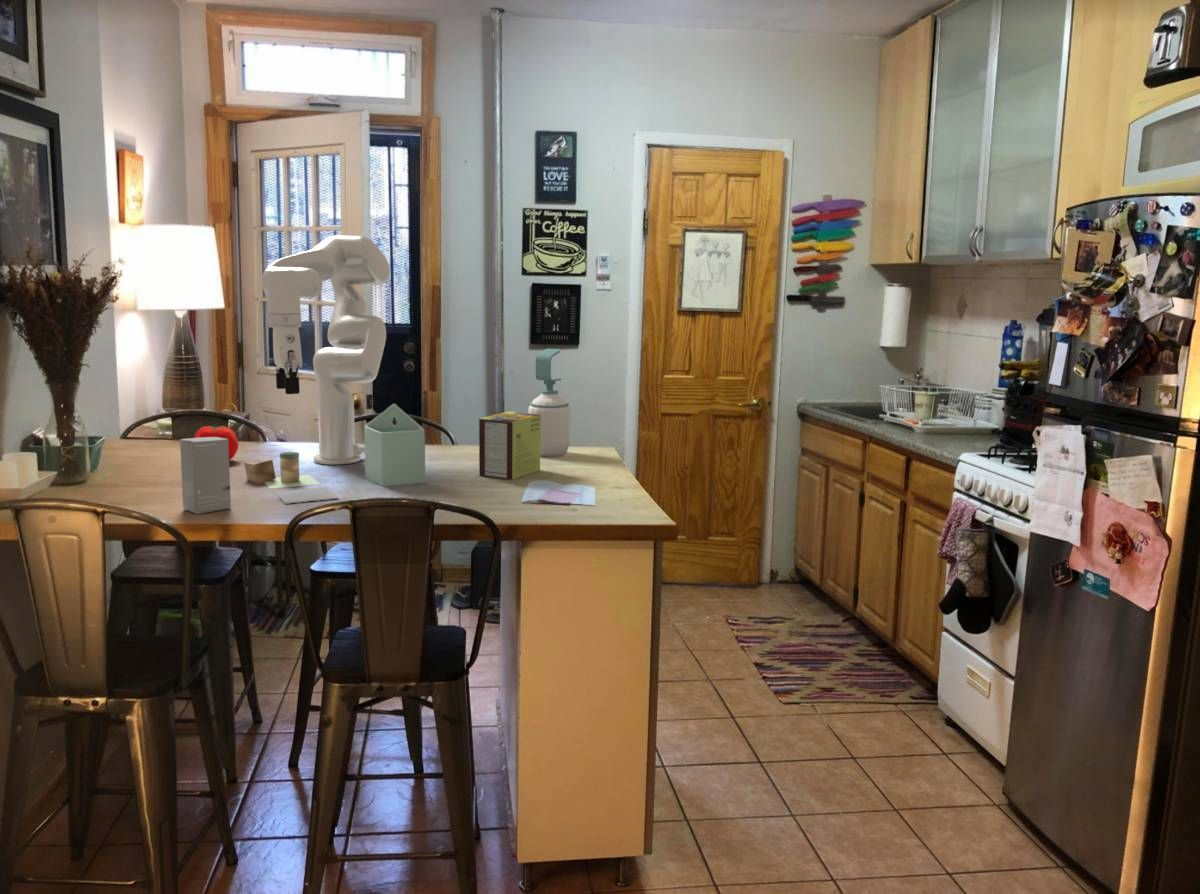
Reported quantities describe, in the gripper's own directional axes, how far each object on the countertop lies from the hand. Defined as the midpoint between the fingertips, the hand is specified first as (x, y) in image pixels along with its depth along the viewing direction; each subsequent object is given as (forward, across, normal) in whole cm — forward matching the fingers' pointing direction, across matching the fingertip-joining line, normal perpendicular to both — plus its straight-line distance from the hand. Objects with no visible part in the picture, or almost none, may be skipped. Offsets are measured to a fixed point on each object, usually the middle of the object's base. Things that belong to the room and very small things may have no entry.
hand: (287, 391), depth 231 cm
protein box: (+24, -12, -54) cm, 61 cm away
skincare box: (+22, -20, +23) cm, 38 cm away
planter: (+23, -11, -21) cm, 33 cm away
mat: (+23, -1, +1) cm, 23 cm away
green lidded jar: (+22, -1, +1) cm, 23 cm away
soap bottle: (+24, +8, -76) cm, 80 cm away
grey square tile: (+23, -17, +1) cm, 28 cm away
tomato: (+24, +33, +13) cm, 43 cm away
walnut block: (+22, +3, +7) cm, 24 cm away
